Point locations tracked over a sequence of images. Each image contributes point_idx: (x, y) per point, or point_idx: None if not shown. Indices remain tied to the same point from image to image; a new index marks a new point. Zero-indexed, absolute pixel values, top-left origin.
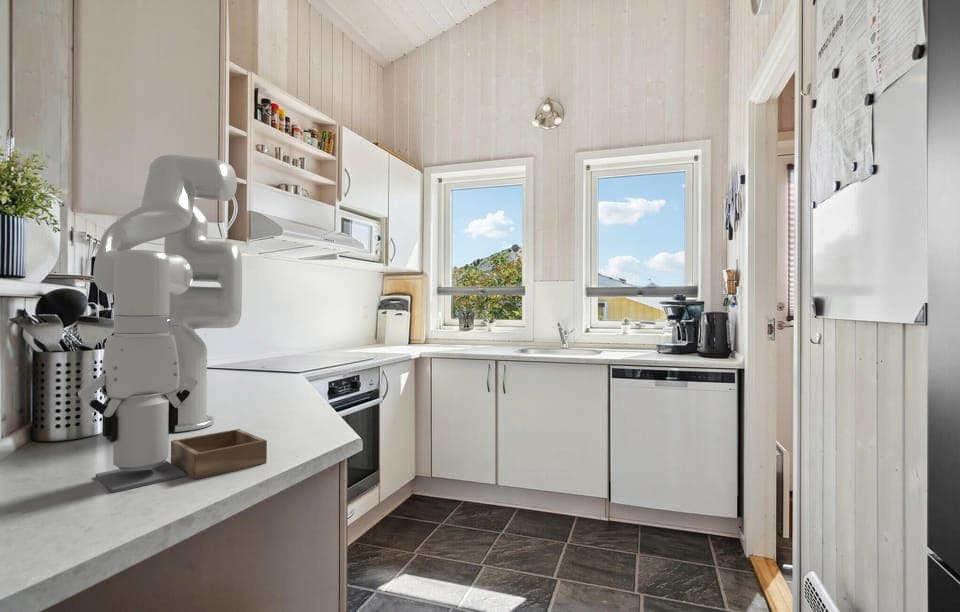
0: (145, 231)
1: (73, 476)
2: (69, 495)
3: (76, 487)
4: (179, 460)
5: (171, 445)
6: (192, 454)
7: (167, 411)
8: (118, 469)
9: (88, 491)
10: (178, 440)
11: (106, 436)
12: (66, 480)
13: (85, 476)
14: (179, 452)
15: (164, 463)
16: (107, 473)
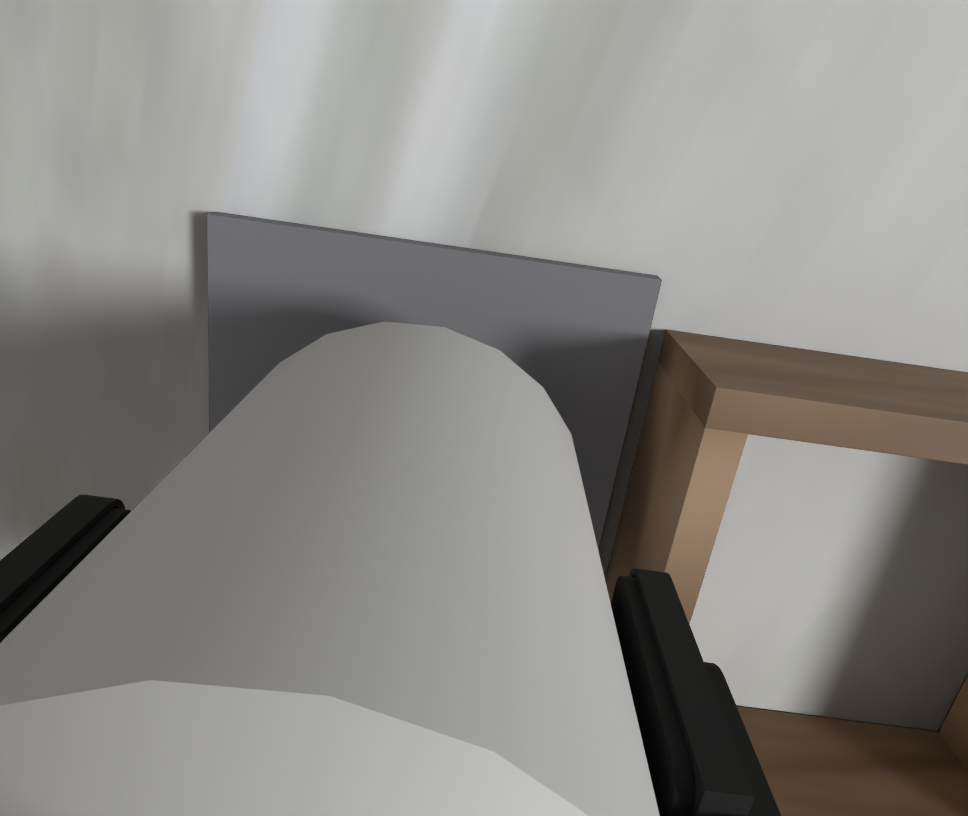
0: None
1: (104, 52)
2: (46, 448)
3: (91, 337)
4: (637, 519)
5: (699, 389)
6: None
7: None
8: (348, 239)
9: (133, 463)
10: (758, 428)
11: (75, 503)
12: (55, 120)
13: (169, 132)
14: (648, 550)
15: (608, 365)
16: (267, 276)
